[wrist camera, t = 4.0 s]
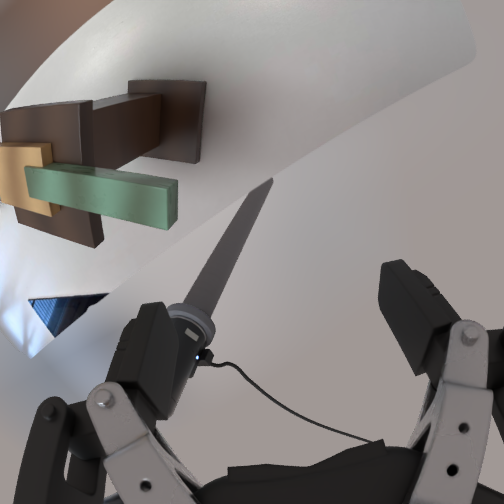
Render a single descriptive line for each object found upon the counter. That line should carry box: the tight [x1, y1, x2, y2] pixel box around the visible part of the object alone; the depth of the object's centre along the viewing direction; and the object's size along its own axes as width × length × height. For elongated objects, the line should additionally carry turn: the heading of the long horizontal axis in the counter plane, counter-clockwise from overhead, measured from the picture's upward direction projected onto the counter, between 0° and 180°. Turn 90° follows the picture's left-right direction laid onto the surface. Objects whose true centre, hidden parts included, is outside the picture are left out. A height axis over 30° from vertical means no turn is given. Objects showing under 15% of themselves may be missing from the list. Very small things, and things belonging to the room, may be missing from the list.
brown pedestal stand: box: [0, 80, 206, 248], centre depth 29 cm, size 12×12×24 cm
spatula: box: [0, 142, 178, 230], centre depth 18 cm, size 20×6×2 cm, turn 82°
